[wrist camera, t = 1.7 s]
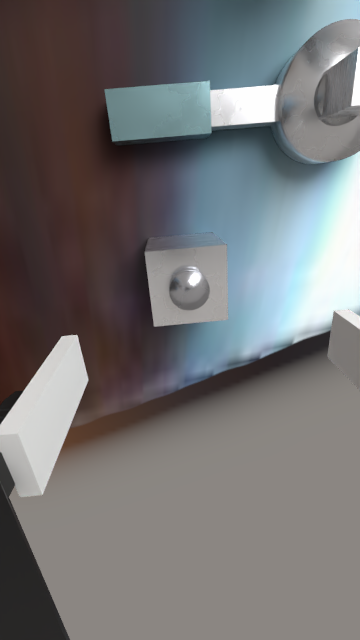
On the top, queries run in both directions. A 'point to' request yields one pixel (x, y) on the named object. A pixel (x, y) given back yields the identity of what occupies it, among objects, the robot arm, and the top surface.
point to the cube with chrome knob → (187, 278)
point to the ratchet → (260, 103)
